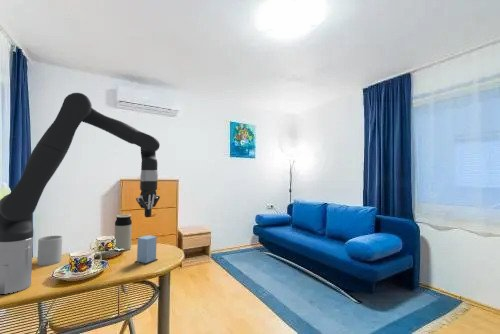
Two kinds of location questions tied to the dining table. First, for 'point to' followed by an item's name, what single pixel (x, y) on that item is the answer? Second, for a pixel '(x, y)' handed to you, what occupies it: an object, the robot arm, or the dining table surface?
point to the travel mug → (123, 231)
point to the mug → (49, 250)
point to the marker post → (145, 263)
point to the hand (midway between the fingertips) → (147, 216)
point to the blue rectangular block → (146, 248)
